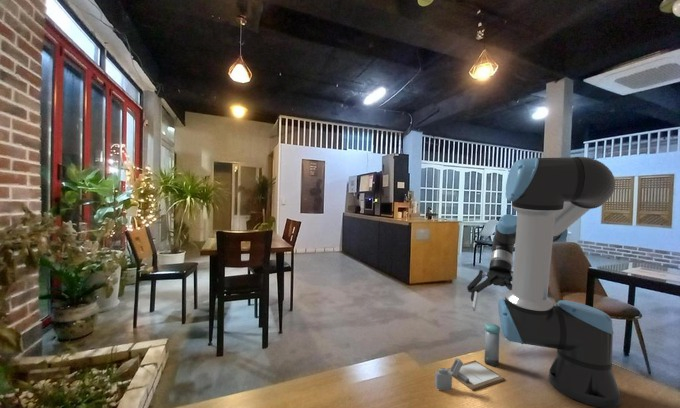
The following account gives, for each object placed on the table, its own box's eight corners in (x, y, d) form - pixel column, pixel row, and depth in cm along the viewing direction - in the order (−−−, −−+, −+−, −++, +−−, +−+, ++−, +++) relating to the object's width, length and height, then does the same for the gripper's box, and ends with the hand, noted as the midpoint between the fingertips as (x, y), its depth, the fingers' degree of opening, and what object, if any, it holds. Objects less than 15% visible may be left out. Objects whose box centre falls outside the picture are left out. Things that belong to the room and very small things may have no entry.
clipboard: (504, 379, 82) (504, 374, 82) (472, 391, 77) (473, 385, 77) (475, 362, 91) (475, 357, 91) (445, 371, 86) (445, 365, 86)
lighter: (436, 390, 77) (437, 360, 77) (434, 386, 78) (435, 357, 78) (462, 390, 77) (463, 361, 77) (459, 386, 79) (460, 357, 79)
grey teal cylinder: (502, 365, 90) (502, 327, 90) (493, 368, 88) (493, 329, 88) (490, 358, 94) (490, 322, 94) (481, 361, 92) (482, 324, 92)
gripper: (539, 274, 105) (538, 328, 93) (467, 265, 120) (458, 310, 108) (539, 262, 101) (538, 317, 89) (465, 254, 116) (455, 300, 103)
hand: (495, 313), depth 98 cm, fingers open, 13 cm apart
